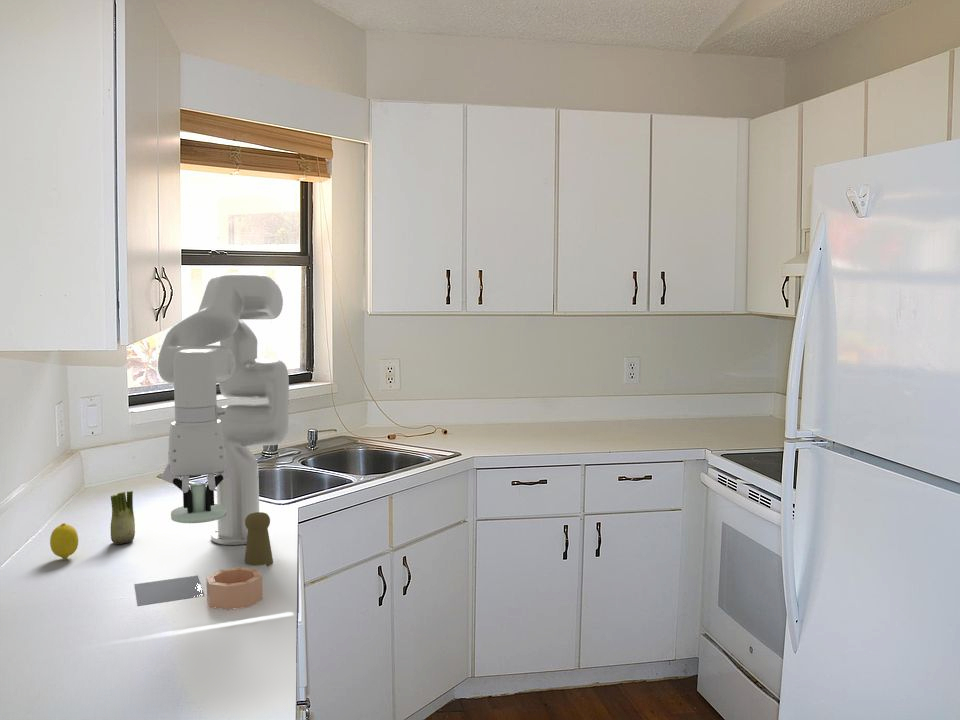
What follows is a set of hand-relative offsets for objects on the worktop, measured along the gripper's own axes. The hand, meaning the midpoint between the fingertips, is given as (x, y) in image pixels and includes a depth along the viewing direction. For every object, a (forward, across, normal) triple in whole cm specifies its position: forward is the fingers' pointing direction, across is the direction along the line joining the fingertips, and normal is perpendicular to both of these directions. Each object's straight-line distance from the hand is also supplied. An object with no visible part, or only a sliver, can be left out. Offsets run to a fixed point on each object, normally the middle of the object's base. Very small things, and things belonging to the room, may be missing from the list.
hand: (198, 509), depth 161 cm
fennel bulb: (+17, +14, -42) cm, 48 cm away
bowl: (+17, -6, +4) cm, 19 cm away
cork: (+17, -13, -16) cm, 27 cm away
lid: (+1, 0, 0) cm, 1 cm away
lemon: (+17, +26, -34) cm, 46 cm away
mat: (+17, +6, -5) cm, 19 cm away
